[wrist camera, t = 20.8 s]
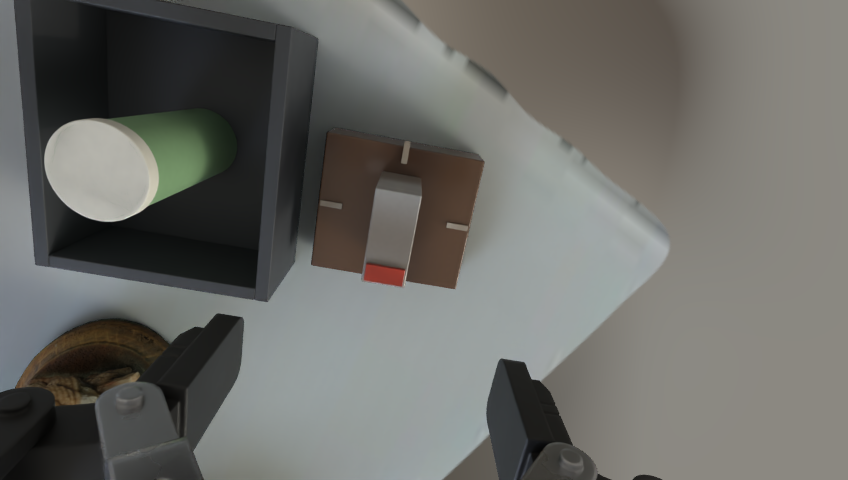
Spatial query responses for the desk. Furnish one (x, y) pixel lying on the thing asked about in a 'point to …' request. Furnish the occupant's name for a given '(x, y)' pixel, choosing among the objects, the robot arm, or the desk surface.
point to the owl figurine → (93, 360)
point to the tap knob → (392, 229)
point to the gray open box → (163, 92)
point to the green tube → (135, 159)
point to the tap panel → (354, 195)
